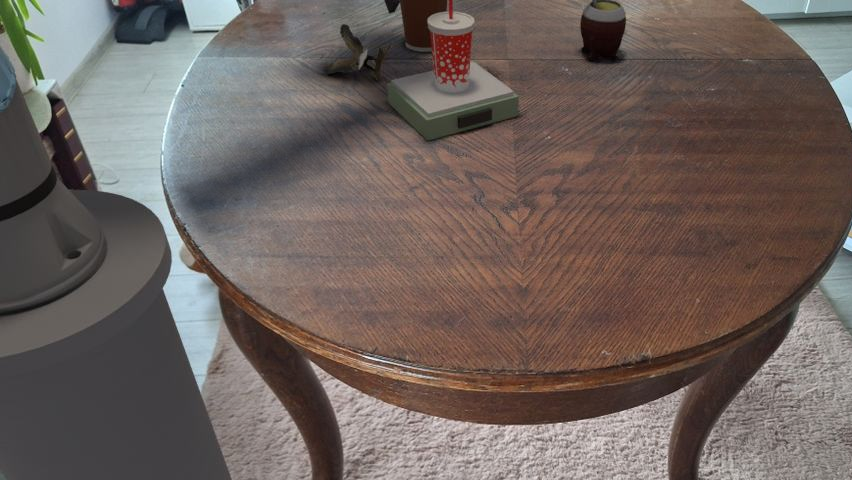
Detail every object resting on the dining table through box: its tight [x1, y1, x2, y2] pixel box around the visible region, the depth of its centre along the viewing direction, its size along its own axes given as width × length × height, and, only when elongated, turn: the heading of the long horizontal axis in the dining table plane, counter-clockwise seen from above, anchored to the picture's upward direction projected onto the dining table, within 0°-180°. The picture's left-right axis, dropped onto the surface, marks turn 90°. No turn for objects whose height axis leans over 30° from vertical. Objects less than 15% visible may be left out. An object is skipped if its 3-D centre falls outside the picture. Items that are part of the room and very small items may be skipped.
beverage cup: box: [427, 0, 475, 93], centre depth 96 cm, size 6×6×14 cm
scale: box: [386, 60, 520, 141], centre depth 101 cm, size 14×12×4 cm
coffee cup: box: [399, 0, 448, 53], centre depth 116 cm, size 9×9×12 cm
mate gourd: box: [579, 0, 627, 63], centre depth 113 cm, size 8×8×15 cm
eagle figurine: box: [326, 23, 393, 81], centre depth 109 cm, size 8×7×9 cm
